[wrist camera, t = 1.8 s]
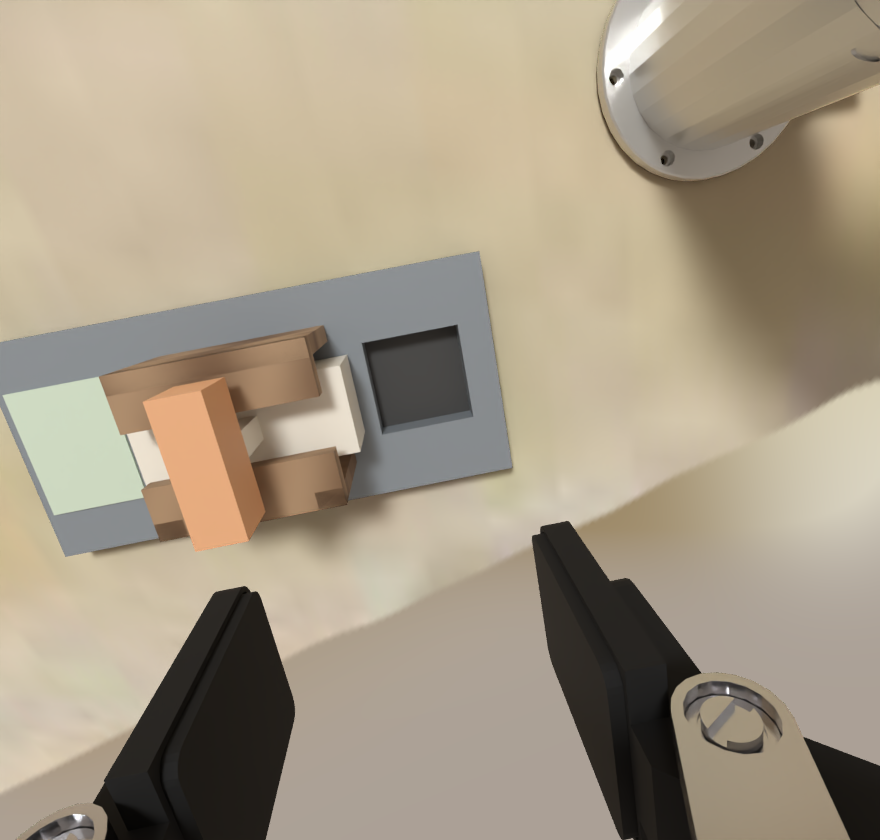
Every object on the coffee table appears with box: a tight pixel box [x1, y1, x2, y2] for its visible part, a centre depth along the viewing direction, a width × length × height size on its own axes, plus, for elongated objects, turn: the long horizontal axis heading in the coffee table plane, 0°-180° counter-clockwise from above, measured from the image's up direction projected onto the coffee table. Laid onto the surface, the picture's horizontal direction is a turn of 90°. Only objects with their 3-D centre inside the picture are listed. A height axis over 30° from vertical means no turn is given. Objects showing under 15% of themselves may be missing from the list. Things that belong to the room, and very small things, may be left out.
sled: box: [127, 355, 365, 552], centre depth 27 cm, size 12×7×10 cm, turn 101°
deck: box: [0, 251, 512, 557], centre depth 33 cm, size 30×14×2 cm, turn 100°
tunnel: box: [99, 325, 357, 542], centre depth 29 cm, size 10×9×6 cm
